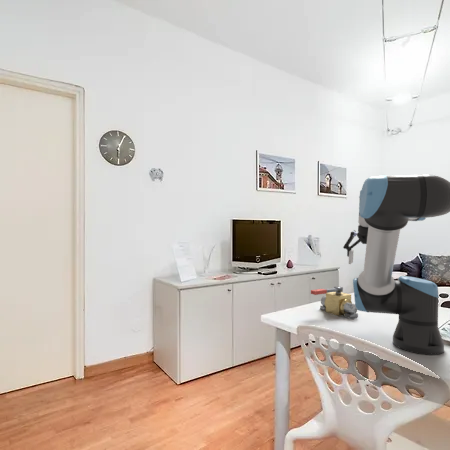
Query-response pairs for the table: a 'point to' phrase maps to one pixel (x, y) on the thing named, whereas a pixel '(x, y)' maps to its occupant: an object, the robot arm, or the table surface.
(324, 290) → the lever
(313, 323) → the table surface
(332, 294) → the valve
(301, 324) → the table surface
